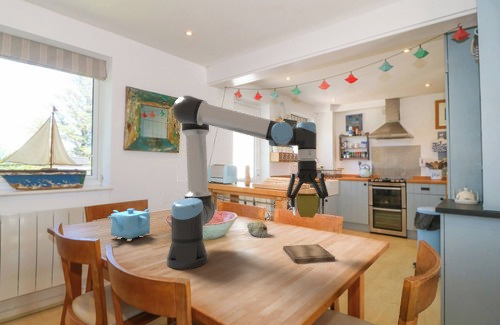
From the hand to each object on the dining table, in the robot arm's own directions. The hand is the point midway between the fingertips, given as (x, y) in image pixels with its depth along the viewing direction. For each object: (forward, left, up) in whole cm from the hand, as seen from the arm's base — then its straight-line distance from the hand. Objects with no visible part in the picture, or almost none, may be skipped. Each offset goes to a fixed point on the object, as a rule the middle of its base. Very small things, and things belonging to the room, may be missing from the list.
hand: (307, 214), depth 109 cm
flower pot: (0, 0, -1) cm, 1 cm away
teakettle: (-80, +39, -17) cm, 91 cm away
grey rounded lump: (-15, +33, -17) cm, 40 cm away
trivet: (0, 0, -16) cm, 16 cm away
